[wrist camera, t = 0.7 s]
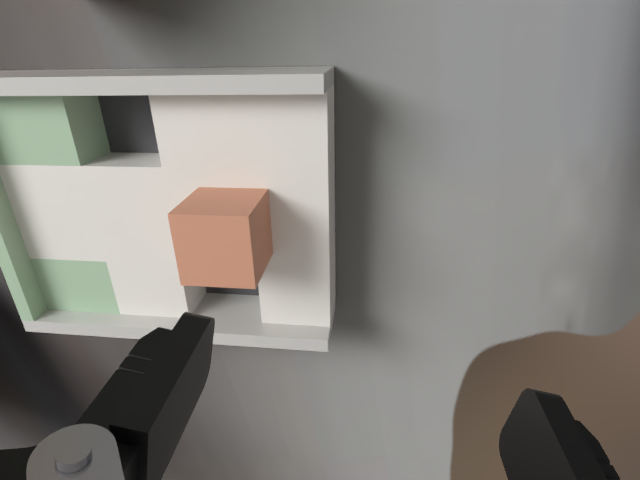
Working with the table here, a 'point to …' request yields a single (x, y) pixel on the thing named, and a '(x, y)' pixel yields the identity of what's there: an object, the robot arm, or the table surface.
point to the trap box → (165, 197)
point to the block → (222, 237)
